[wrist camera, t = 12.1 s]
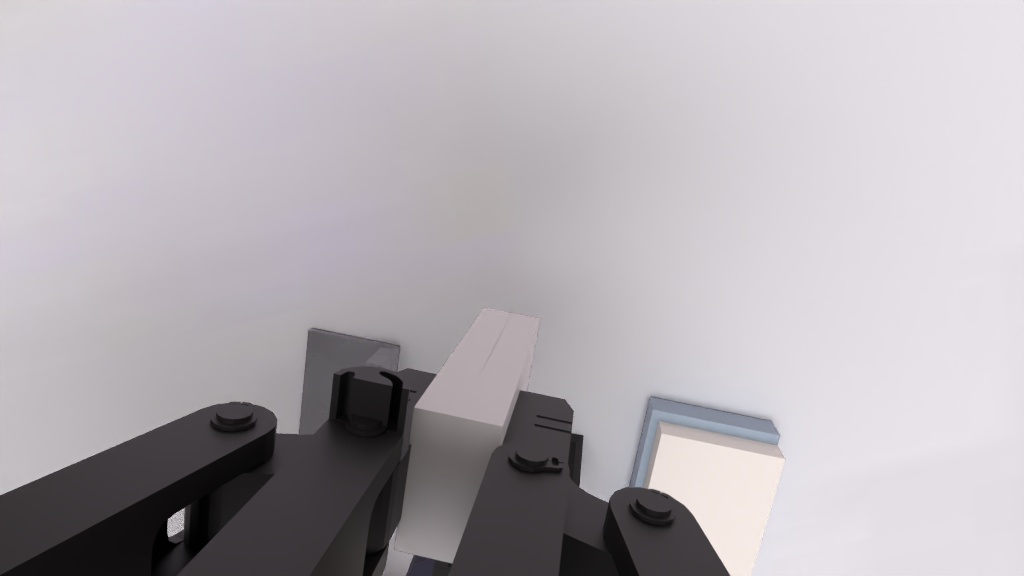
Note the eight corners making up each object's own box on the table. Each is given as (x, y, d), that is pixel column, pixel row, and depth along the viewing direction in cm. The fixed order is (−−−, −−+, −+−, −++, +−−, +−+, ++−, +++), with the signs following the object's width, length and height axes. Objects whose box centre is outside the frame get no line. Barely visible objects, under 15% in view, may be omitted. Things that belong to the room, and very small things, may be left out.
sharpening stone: (596, 629, 36) (596, 672, 33) (650, 396, 33) (655, 421, 30) (705, 655, 36) (714, 700, 33) (771, 421, 32) (788, 449, 30)
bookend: (289, 557, 38) (264, 592, 35) (311, 328, 35) (285, 345, 32) (370, 576, 37) (351, 613, 35) (400, 346, 34) (381, 365, 31)
